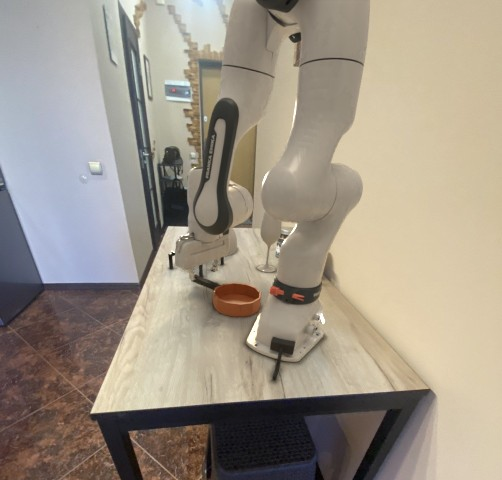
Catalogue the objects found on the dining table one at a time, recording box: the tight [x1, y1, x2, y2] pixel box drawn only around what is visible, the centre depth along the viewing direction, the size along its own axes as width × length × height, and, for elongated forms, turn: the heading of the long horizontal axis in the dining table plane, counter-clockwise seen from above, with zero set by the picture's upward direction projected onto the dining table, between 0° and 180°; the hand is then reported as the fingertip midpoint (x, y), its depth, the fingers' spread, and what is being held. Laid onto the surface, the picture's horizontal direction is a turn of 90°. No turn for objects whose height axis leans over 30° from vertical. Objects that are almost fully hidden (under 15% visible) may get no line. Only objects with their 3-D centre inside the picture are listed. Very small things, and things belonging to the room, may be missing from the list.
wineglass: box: [256, 211, 282, 273], centre depth 107 cm, size 8×8×21 cm
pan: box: [190, 274, 262, 318], centre depth 87 cm, size 25×14×4 cm, turn 55°
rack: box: [167, 250, 225, 278], centre depth 107 cm, size 16×14×6 cm
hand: (204, 275), depth 90 cm, fingers open, 8 cm apart
